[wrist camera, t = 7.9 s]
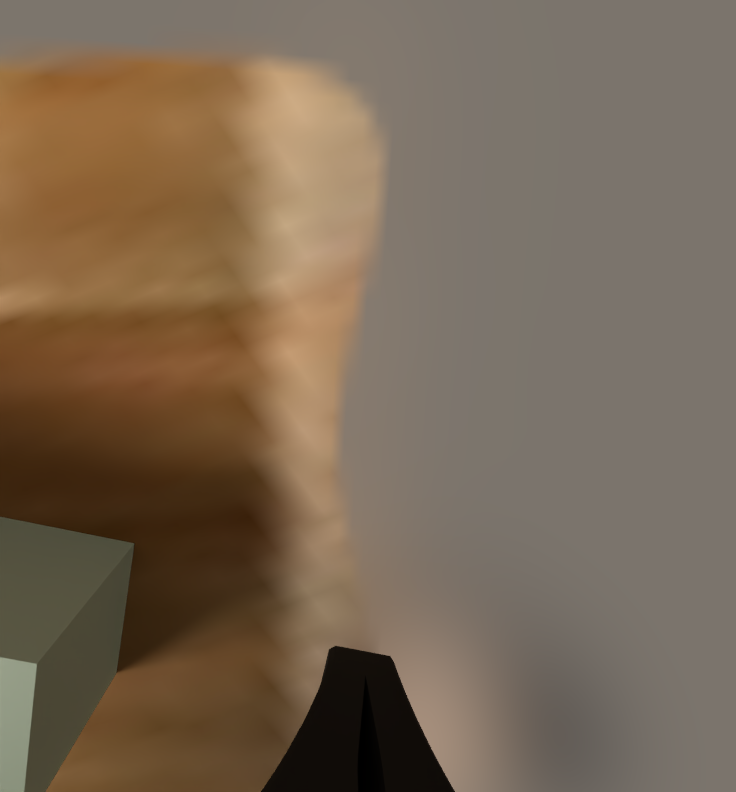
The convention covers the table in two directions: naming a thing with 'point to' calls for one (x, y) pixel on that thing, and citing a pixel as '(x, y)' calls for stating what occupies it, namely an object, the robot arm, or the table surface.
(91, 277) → the table surface
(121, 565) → the rectangular block
